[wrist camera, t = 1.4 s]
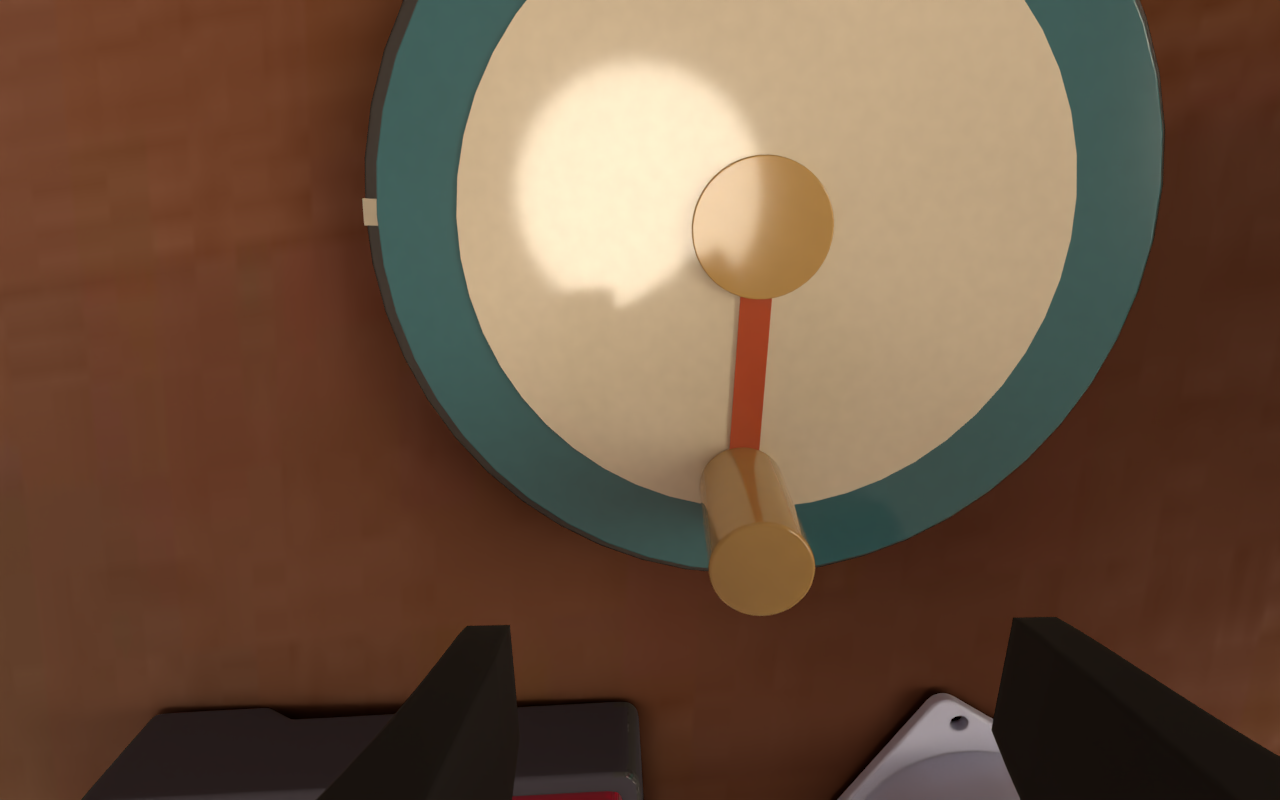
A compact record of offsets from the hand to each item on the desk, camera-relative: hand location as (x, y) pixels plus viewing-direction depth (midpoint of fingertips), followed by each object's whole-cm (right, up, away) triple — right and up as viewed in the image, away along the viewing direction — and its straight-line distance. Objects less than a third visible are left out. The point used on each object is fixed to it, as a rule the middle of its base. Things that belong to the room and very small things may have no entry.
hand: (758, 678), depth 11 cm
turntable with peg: (+1, +8, +6) cm, 10 cm away
